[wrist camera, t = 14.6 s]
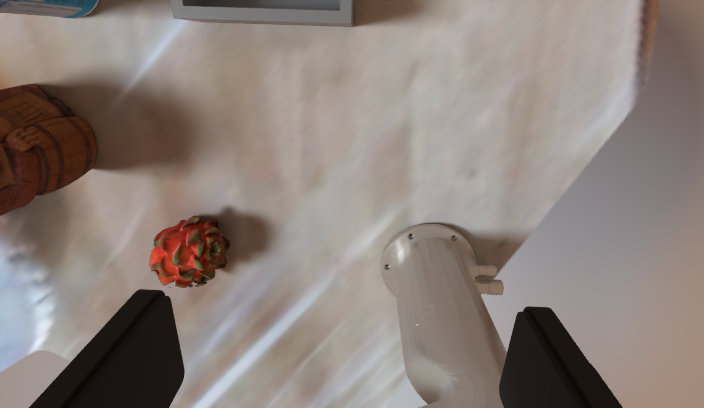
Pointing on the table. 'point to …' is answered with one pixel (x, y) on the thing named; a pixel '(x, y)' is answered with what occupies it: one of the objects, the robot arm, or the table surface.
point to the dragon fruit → (189, 252)
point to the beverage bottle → (49, 7)
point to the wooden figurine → (39, 146)
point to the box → (267, 11)
